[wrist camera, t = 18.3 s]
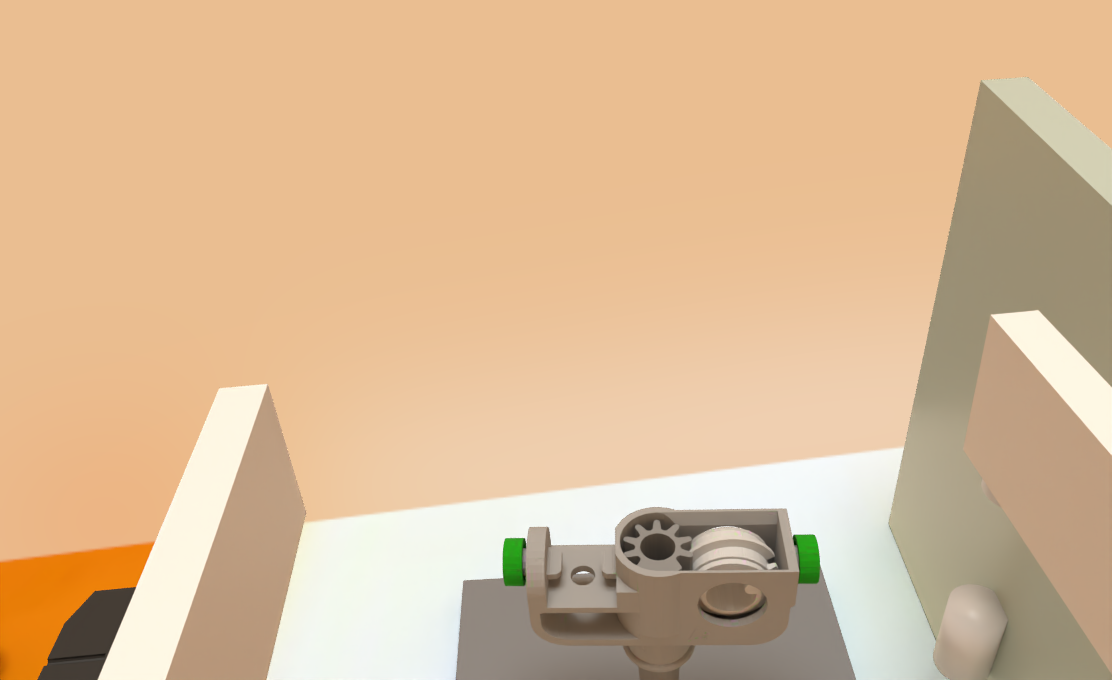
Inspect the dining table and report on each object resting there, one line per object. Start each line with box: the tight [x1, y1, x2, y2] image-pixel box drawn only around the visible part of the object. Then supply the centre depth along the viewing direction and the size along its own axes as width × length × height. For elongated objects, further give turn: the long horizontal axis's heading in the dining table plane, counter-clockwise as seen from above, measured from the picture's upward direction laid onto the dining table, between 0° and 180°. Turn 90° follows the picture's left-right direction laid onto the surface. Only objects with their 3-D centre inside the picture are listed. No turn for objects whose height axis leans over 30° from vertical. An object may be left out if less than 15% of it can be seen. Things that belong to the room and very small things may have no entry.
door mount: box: [456, 77, 1112, 680], centre depth 31 cm, size 22×20×22 cm
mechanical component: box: [503, 507, 820, 680], centre depth 34 cm, size 3×10×10 cm, turn 87°
